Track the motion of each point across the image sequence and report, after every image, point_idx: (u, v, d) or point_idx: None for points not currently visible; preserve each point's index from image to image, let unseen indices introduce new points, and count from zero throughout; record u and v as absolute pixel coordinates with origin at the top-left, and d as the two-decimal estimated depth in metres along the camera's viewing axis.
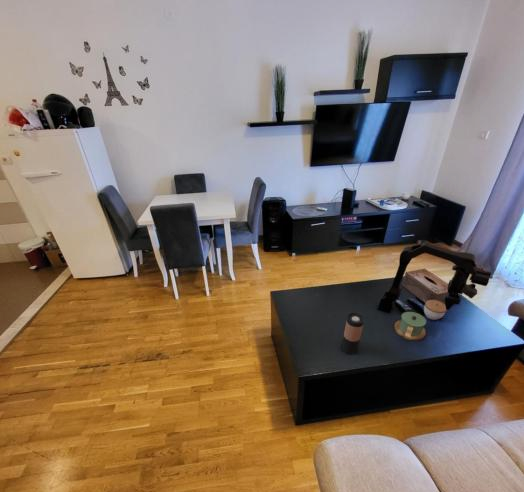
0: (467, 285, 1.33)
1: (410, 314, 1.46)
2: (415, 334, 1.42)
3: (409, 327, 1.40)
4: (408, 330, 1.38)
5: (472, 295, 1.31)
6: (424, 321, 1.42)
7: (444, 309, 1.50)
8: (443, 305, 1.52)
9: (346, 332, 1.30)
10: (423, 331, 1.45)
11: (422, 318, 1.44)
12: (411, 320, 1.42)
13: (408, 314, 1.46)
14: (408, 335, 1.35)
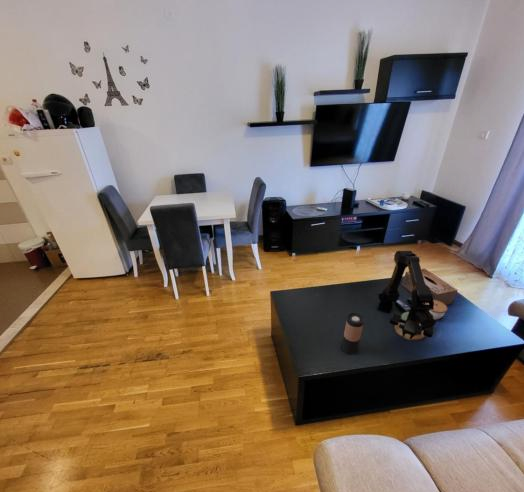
0: (414, 323, 1.27)
1: None
2: None
3: None
4: None
5: (404, 328, 1.29)
6: None
7: (444, 309, 1.50)
8: (443, 305, 1.52)
9: (346, 332, 1.30)
10: (423, 331, 1.45)
11: None
12: None
13: None
14: (408, 335, 1.35)
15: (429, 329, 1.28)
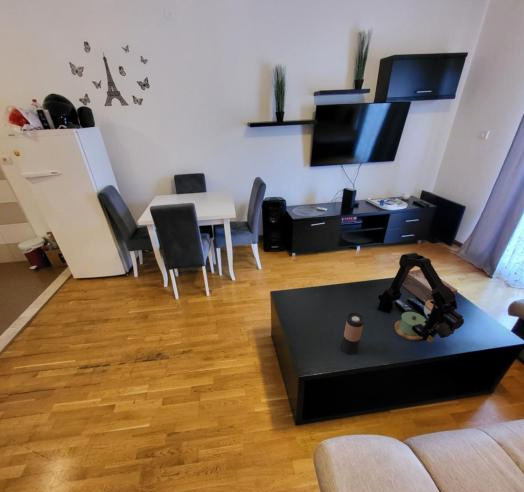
0: (444, 324, 1.26)
1: (406, 316, 1.45)
2: None
3: None
4: None
5: (441, 335, 1.25)
6: (421, 316, 1.45)
7: None
8: None
9: (346, 332, 1.30)
10: None
11: (416, 314, 1.46)
12: (415, 321, 1.42)
13: (405, 317, 1.45)
14: (431, 337, 1.34)
15: None
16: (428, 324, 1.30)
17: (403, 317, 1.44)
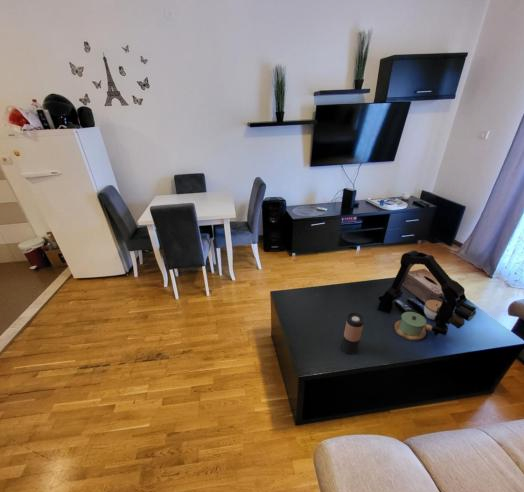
0: (454, 315, 1.32)
1: (406, 319, 1.43)
2: None
3: (426, 325, 1.41)
4: None
5: (459, 325, 1.29)
6: (414, 313, 1.47)
7: None
8: None
9: (346, 332, 1.30)
10: (423, 331, 1.45)
11: (409, 313, 1.47)
12: (417, 321, 1.42)
13: (407, 320, 1.43)
14: None
15: None
16: (441, 320, 1.32)
17: (407, 321, 1.42)
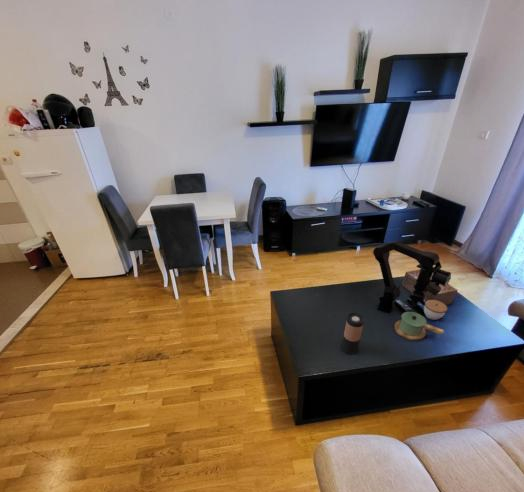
0: (431, 283, 1.39)
1: (406, 319, 1.43)
2: None
3: (426, 325, 1.41)
4: (432, 327, 1.39)
5: (436, 292, 1.36)
6: (414, 313, 1.47)
7: (444, 309, 1.50)
8: (443, 305, 1.52)
9: (346, 332, 1.30)
10: (423, 331, 1.45)
11: (409, 313, 1.47)
12: (417, 321, 1.42)
13: (407, 320, 1.43)
14: (441, 329, 1.38)
15: None
16: (419, 288, 1.39)
17: (407, 321, 1.42)
